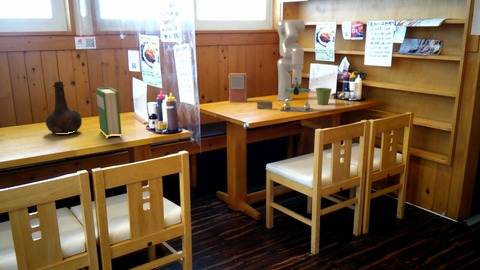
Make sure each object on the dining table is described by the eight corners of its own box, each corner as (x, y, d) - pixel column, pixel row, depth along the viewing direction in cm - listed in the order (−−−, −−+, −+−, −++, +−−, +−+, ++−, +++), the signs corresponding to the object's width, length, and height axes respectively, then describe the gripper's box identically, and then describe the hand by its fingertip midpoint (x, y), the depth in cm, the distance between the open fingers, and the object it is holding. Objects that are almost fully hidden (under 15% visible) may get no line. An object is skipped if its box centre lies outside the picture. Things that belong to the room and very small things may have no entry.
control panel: (229, 101, 322) (248, 101, 321) (227, 102, 316) (247, 102, 314) (228, 73, 317) (248, 73, 316) (227, 74, 311) (247, 74, 309)
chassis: (283, 107, 292) (283, 97, 290) (312, 109, 286) (312, 98, 285) (280, 111, 281) (280, 100, 279) (310, 112, 275) (310, 101, 274)
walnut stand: (258, 108, 293) (258, 101, 291) (272, 108, 290) (272, 101, 289) (257, 108, 290) (257, 101, 289) (271, 109, 287) (271, 102, 286)
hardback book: (121, 137, 218) (117, 91, 212) (107, 139, 215) (102, 92, 209) (114, 130, 233) (110, 87, 227) (100, 132, 230) (96, 88, 224)
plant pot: (329, 106, 296) (330, 90, 293) (313, 105, 300) (313, 89, 298) (332, 103, 307) (333, 88, 304) (316, 102, 311) (317, 87, 308)
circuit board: (286, 91, 286) (286, 88, 285) (309, 91, 281) (309, 88, 281) (284, 92, 279) (284, 89, 279) (308, 93, 275) (308, 90, 274)
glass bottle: (83, 135, 223) (77, 82, 216) (46, 138, 217) (39, 84, 210) (82, 128, 239) (77, 79, 233) (48, 131, 233) (41, 80, 227)
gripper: (293, 66, 286) (293, 92, 290) (289, 68, 269) (289, 95, 274) (305, 66, 284) (304, 92, 288) (301, 68, 267) (300, 96, 271)
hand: (297, 93), depth 281 cm, fingers closed on circuit board, 7 cm apart
